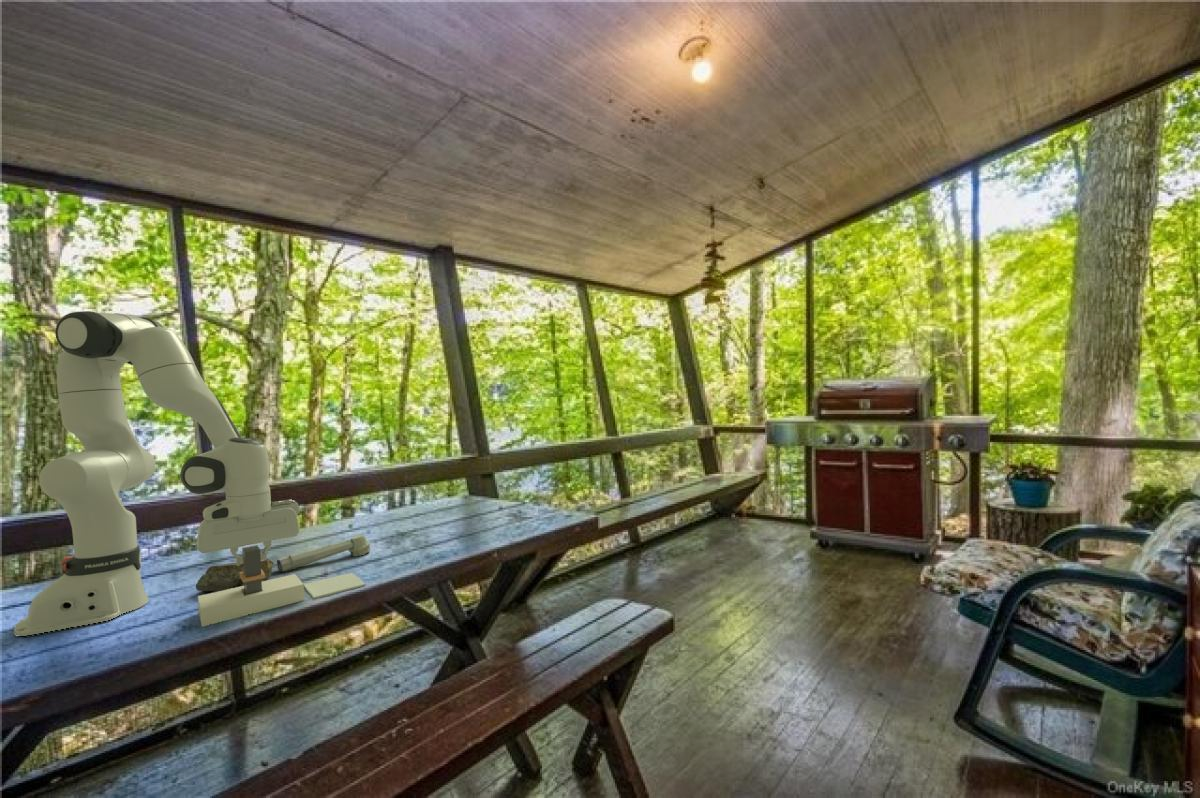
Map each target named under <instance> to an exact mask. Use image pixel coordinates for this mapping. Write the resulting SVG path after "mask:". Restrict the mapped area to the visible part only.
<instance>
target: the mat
mask: <svg viewBox="0 0 1200 798" xmlns="http://www.w3.org/2000/svg"><path fill="white" fill-rule="evenodd" d="M303 584H304V590H306V591H307V593H309V594H310V596H311V597H312V598H313V599H314V600H316V599H321V598H323V597H324V598H325V597H327V596H331V595H336V594H339V593H343V592H346V591H350V590H354V589H358V588H362V587H366V585H367V584H366V583H365V582H364V581H363V580H361V579H360V578H359V577H358V576H357V575H355V573H354V572H349V573H345V574H339V575H337V576H333V577H329V578H324V579H319V580H317V581H312V582H307V583H303Z"/></svg>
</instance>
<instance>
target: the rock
mask: <svg viewBox="0 0 1200 798" xmlns="http://www.w3.org/2000/svg"><path fill="white" fill-rule="evenodd" d="M274 565H275V563H274V562H273V561H272V560H270V559H268V558H267V560H264V561H261V569H262V570H263V572H264V573H265V578H262V581H267V580H270V577H271V575H272V572H273V571H272V569H273V567H274ZM239 572H243V565H240V566H237V564H236V562H231V563H226V564H225V563H224V564H220V565H211V566H209V567H208V568H207V570H206V571H205V574H203V575H201V577H200V578H199V579H198V580H197V583H196V584H195V589H196V591H198V592H200V591H201V592H219V591H223V590H227V589H231V588H234V587H235V588H236V587H239V586H238V585H240V586H244V583H243V582H242V580H241V578H240V574H239Z"/></svg>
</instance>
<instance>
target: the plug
mask: <svg viewBox="0 0 1200 798" xmlns="http://www.w3.org/2000/svg"><path fill="white" fill-rule="evenodd" d="M241 550H242V551H241V552H242V555H241V556H244V562H245V564H244V565H243V572H239V574H240V578H241V580H242V582H243V583H244V585H243V586H244V594H245V595H249V594H253V593H257V592H261V591H262V578H265V573H264V572H263V570H262V569H261V557H260V553H261V549H260V547H259V546H258V544H254V545H248V546H243V547H242V549H241Z"/></svg>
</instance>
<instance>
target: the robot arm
mask: <svg viewBox="0 0 1200 798" xmlns="http://www.w3.org/2000/svg"><path fill="white" fill-rule="evenodd" d="M55 326H56V327H55V331H54V332H55V340H56V342H57V344H58V346H59V347H60V348H61V349H62V350H63V351H62V352H61V353H60V355H59V357H58V359H57V366H56V368H57V369H56V370H57V371H56V386H57V387H56V389H57V396H58V402H59V403H58V404H59V408H60V409H59V410H60V417H61V424H62V426H63V428H64V429H65V430H66V431H68V432H69V433H71V434H72V435H74V436H75V437H76V438H77V440H79V442H80V443H81V445H82V447H83V449H84V451H78V452H77V451H76V452H71V453H69V454H66V455H62V456H60V457H58V458H56V459H52V460H50V461H49V462H48V463H46V464H45V465H44V466H43V468H42V469H41V471H40V473H39V478H38V483H39V487H40V489H41V490H42V491H43V493H44V494H45V495H46V496H48V497H49V498H51V499H52V500H53V499H54V500H55V501H57V502H58V503H59V504H60V506H61V507H62V508H63V509H64V512H65V513H66V515H67V518H68V519H69V523H70V526H71V531H72V540H73V554H74V555H73V556H70V555H68V556H64V558H63V559H62V560H61V571H62V574H63V575H61V576H60V577H59V578H57V579H56V580H55V581H53V582H52V583H51V584H49V586H47V587H46V588H44V589H43V590H41V591H40V592H39V593H38V594H37V595H36V596H35V597H34V598H33V599H32V601H31V602H30V605H29V608H28V612H27V616H26V617H24V618H23V619H21V620H19V621H18V622H17V623H16V624H15V626H14V628H13V635H14V634H16V635H19V636H25V635H32V634H37V635H39V634H38V633H43V634H45V633H44V632H48V633H51V632H50V631H53V632H56V631H55V630H58V631H62V630H61V629H64V630H67V629H66V628H69V629H71V628H70V627H74V628H78V627H77V626H80V627H83V626H82V625H85V626H89V625H88V624H90V625H94V624H93V623H96V624H99V623H98V622H101V623H104V622H103V621H106V622H109V621H108V620H110V621H112V620H111V619H113V618H115V617H117V616H119V615H120V616H122V615H124V614H123V613H125V614H127V613H130V612H132V610H133V611H134V610H137V609H140V608H141V607H143V606H145V605H146V604H148V602H149V600H150V598H149V597H148V595H147V592H146V589H145V587H144V583H143V579H142V575H141V570H140V569H141V566H142V552H141V551H142V550H141V549H140V548H141V547H140V545H138V534H137V533H138V531H137V517H136V515H135V513H134V512H132V511H131V510H128V509H127V508H126V507H125V506H124V504H123V502H122V501H121V498H120V495H119V492H120V491H125V490H129V489H132V488H135V487H137V486H139V485H141V484H142V483H144V482H145V481H147V480H149V479H150V478H151V477H152V476H153V475H154V473H155V471H156V464H157V463H156V460H155V457H154V456H153V454H152V453H151V452H149V451H148V450H147V449H145V448H144V447H143V446H142V445H141V444H140V442H139V441H138V439H137V438H136V436H135V434H134V433H133V430H132V429H131V425H130V424H129V421H128V418H127V413H126V407H125V400H124V399H125V398H124V393H123V388H122V387H123V386H122V382H121V375H120V374H121V373H120V372H121V370H122V368H123V366H124V365H126V364H128V365H131V366H133V369H134V371H135V373H136V376H137V378H138V380H139V381H138V382H139V383H140V385H141V389H142V390H143V392H144V394H145V395H146V396H147V397H148V399H149V400H150V401H151V402H152V403H153V404H154V405H156V406H157V407H160V408H163V409H165V410H169V411H173V412H176V413H179V414H182V415H184V416H187V417H189V418H190V419H192V420H194V421H195V422H197V423H198V424H199V425H200V426H201V427H202V429H203V431H204V432H205V434H206V436H207V438H208V439H209V441H210V442H211V444H212V446H213V448H214V449H210V450H208V451H206V452H204V453H199V454H197V455H193V456H192V457H190V458H188V459H186V460H185V462H184V463H183V464H182V466H181V470H180V480H181V484H182V485H183V486H184V488H185V489H186V490H187V491H189V492H190V493H193V494H194V495H195V494H196V495H207V494H213V493H218V492H223V491H224V493H225V500H222V501H220V502H217V503H214V504H211V505H209V506H207V507H205V508H204V509H203V511H202V516H203V519H202V521H201V522H200V524H199V526H198V530H197V531H198V533H197V539H196V541H197V542H196V543H197V545H196V546H197V550H198V552H199V553H201V554H208V553H213V552H218V551H224V550H229V551H230V553H231V555H232V556H233V557H234V558H235V563H236V564H237V566H240V565H244V564H245V562H244V556H243V555H241V556H240V555H239V554H238V552H239V547H240V548H241V547H247V546H252V545H258V544H261V543H263V546H264V548H263V550H262V551H260V557H261V561H264V560H267V559H268V558H267V554H268V552H269V550H270V549H271V547H272V541H278V540H282V539H288V538H294V537H295V538H296V537H297V536H298V535H299V533H300V525H299V524H300V523H299V520H298V515H299V512H300V506H299V503H298V502H297V501H296V500H292V499H284V500H276V501H272V500H271V499H272V497H271V496H272V495H271V487H270V485H269V484H270V483H269V476H270V459H269V452H268V448H267V446H266V444H265V443H264V441H263V440H260V439H259V438H254V437H242V436H241V434H240V432H239V430H238V429H237V427H236V426H235V424H234V422H233V420H232V418H231V417H230V415H229V413H228V411H227V410H226V408H225V406H224V405H223V403H222V402H221V400H220V399H219V397H217V396H216V394H215V393H214V392H213V391H212V390H211V389H210V388H209V387H208V386H207V384H206V382H205V381H204V379H203V378H202V375H201V374H200V372H199V370H198V368H197V366H196V363H195V361H194V359H193V357H192V355H191V353H190V351H189V350H188V348H187V346H186V344H185V343H184V342H183V340H182V339H181V338H180V336H179V335H178V333H176V331H174V330H172V329H171V328H167V327H164V325H162V324H161V323H159V322H157V321H156V320H152V319H150V318H147V317H140V316H139V317H138V316H134V315H131V314H130V315H129V314H125V313H124V314H123V313H118V312H117V313H108V312H95V311H92V310H89V311H88V310H87V311H86V310H85V311H84V310H82V311H74V312H73V311H72V312H69V313H67V314H65V315H63V316H62V317H61V318H60V320H58V322H57V324H56V325H55ZM129 611H130V612H129ZM126 612H127V613H126ZM121 614H122V615H121ZM120 616H119V617H120ZM117 618H118V617H117ZM115 619H116V618H115ZM113 620H114V619H113ZM32 636H33V635H32Z"/></svg>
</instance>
